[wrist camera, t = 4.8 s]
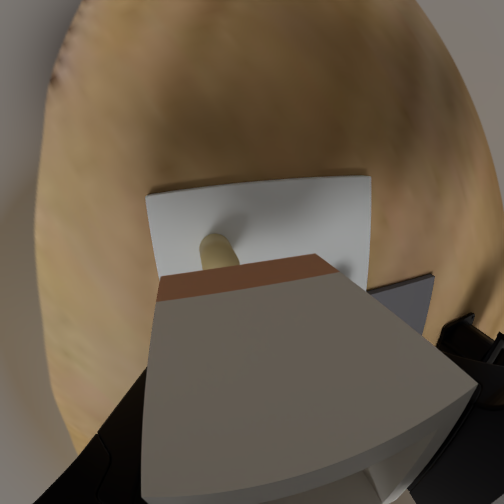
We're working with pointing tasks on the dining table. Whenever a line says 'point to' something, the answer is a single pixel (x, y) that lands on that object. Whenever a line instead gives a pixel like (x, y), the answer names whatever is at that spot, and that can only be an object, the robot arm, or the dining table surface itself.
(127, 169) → the dining table surface
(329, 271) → the sleeve
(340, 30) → the dining table surface
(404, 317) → the mat
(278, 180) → the pin board
